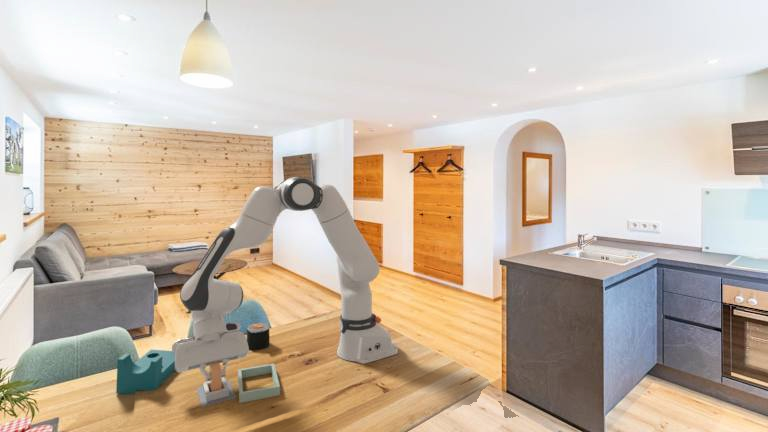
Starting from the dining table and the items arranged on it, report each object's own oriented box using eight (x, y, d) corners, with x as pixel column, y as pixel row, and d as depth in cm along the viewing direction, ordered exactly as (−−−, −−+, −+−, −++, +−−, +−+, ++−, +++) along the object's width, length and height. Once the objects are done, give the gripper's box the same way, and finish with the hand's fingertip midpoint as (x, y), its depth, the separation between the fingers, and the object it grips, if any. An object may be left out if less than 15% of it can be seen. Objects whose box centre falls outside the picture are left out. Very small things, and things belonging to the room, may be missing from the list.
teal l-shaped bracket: (154, 395, 112) (156, 361, 111) (116, 393, 111) (117, 359, 110) (183, 365, 130) (184, 336, 129) (150, 363, 129) (151, 334, 128)
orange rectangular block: (219, 387, 113) (218, 362, 113) (221, 394, 110) (221, 367, 109) (210, 390, 112) (209, 364, 111) (212, 396, 109) (211, 370, 108)
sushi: (249, 352, 139) (249, 331, 138) (245, 343, 146) (244, 323, 146) (271, 347, 143) (271, 327, 143) (266, 339, 150) (266, 319, 150)
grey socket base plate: (228, 382, 118) (228, 372, 118) (236, 401, 108) (236, 391, 108) (196, 390, 114) (196, 380, 113) (201, 411, 104) (201, 400, 103)
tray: (274, 373, 124) (274, 363, 124) (280, 398, 110) (279, 386, 110) (238, 380, 120) (237, 369, 119) (239, 406, 106) (239, 394, 106)
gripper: (171, 336, 110) (175, 384, 102) (245, 323, 121) (253, 365, 113) (171, 345, 114) (174, 392, 107) (242, 331, 125) (250, 373, 117)
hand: (216, 378), depth 110 cm, fingers closed on orange rectangular block, 2 cm apart
